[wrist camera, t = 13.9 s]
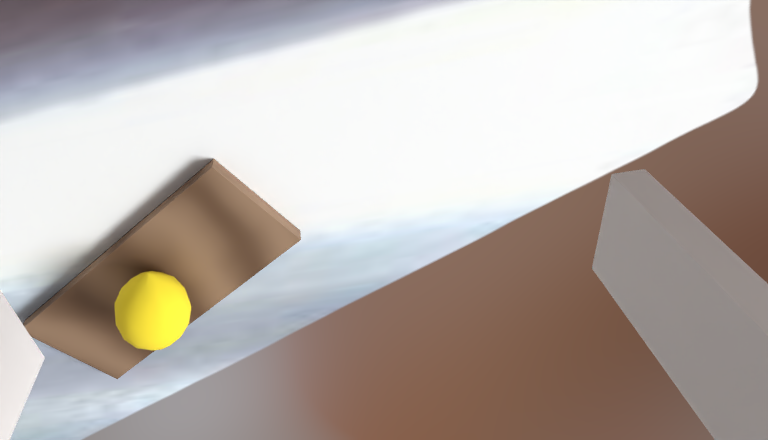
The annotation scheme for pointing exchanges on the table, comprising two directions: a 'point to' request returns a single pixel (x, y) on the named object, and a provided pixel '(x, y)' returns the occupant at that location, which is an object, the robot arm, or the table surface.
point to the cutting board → (167, 265)
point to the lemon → (152, 310)
